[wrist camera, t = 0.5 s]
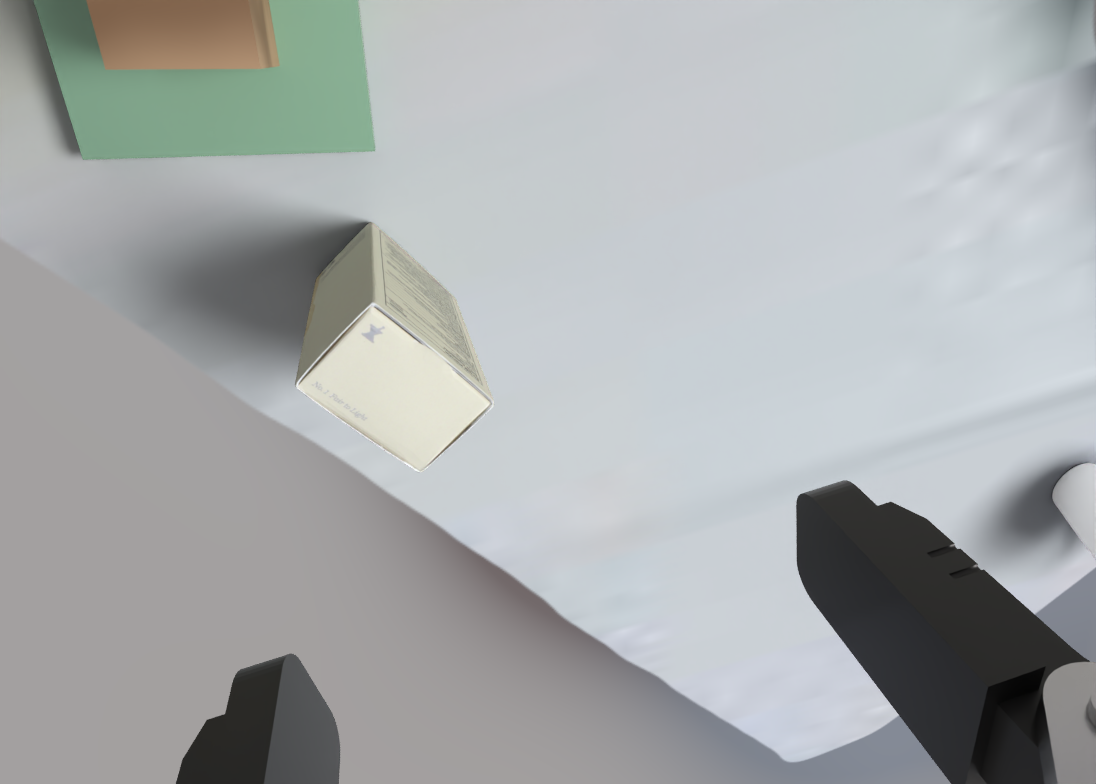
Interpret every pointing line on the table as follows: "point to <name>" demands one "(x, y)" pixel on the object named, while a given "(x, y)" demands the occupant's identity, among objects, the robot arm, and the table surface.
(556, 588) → the table surface
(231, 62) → the walnut brick
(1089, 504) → the mug
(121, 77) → the plate
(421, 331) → the skincare box
